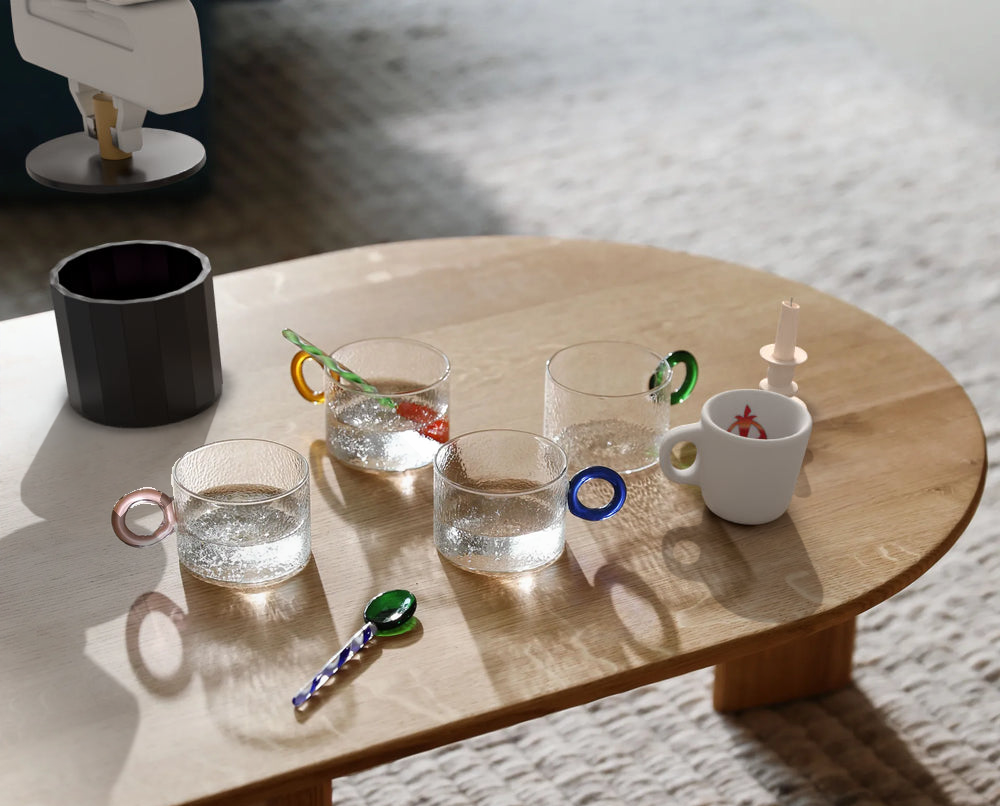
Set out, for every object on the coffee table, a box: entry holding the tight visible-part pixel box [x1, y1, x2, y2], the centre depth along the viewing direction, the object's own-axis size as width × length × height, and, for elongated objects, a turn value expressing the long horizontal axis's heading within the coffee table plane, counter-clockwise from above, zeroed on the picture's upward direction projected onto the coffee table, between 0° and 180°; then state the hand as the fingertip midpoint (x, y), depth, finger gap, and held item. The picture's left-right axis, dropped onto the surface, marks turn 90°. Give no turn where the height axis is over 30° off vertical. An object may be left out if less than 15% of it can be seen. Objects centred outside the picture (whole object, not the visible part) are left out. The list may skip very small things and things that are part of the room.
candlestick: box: [758, 297, 809, 410], centre depth 115 cm, size 5×5×10 cm
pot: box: [48, 239, 224, 429], centre depth 115 cm, size 13×13×11 cm
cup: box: [658, 388, 813, 526], centre depth 103 cm, size 11×8×8 cm
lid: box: [25, 92, 207, 194], centre depth 106 cm, size 13×13×6 cm
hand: (114, 143), depth 107 cm, fingers closed on lid, 2 cm apart
